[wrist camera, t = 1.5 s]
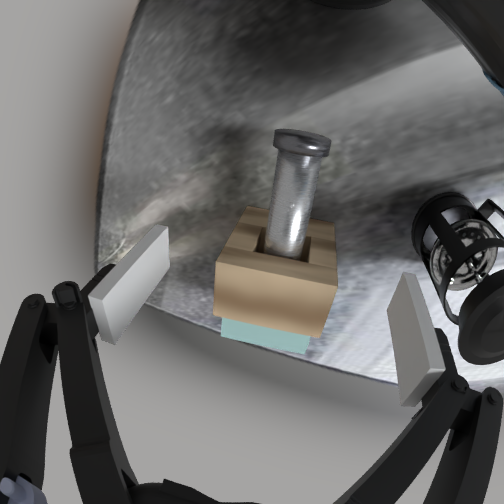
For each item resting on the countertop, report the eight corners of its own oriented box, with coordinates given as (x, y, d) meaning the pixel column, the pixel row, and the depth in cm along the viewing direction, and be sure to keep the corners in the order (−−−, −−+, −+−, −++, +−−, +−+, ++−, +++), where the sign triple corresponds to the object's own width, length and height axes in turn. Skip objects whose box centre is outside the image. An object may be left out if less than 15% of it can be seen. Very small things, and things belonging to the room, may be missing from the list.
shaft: (278, 126, 26) (271, 134, 22) (330, 136, 25) (332, 145, 21) (251, 310, 37) (242, 337, 33) (289, 318, 36) (284, 346, 33)
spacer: (242, 267, 38) (222, 315, 31) (315, 282, 37) (311, 334, 30) (240, 286, 40) (220, 336, 32) (309, 301, 39) (304, 354, 31)
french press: (436, 279, 35) (489, 438, 16) (391, 235, 34) (444, 411, 14) (498, 218, 29) (601, 352, 10) (459, 165, 27) (594, 289, 8)
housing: (247, 205, 35) (215, 261, 25) (334, 223, 34) (338, 286, 24) (242, 250, 39) (213, 315, 28) (322, 267, 37) (319, 337, 27)
